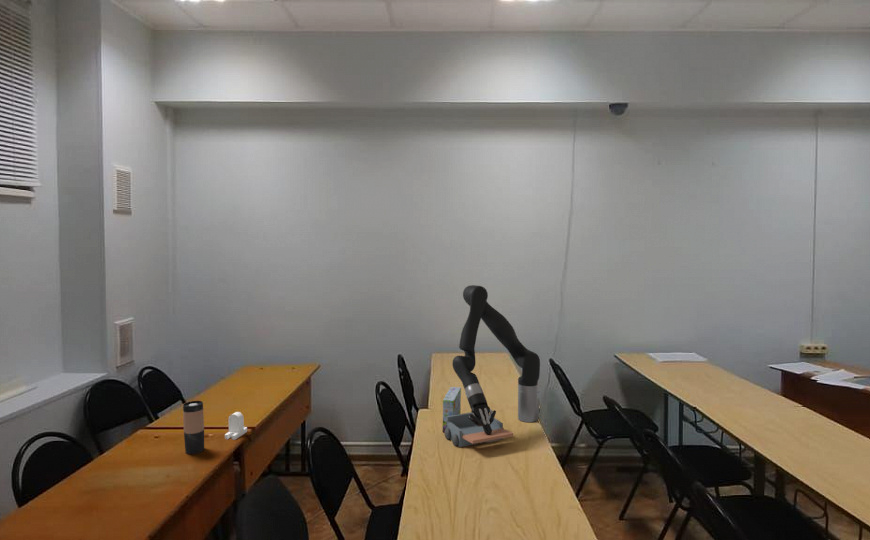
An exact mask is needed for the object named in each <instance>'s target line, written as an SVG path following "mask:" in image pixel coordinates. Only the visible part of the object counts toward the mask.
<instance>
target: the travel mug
mask: <svg viewBox="0 0 870 540" xmlns="http://www.w3.org/2000/svg"><path fill="white" fill-rule="evenodd" d="M182 415H183V417H182V418H183V437H184V438H183V439H184V450H185V453H186V454H187V455H196V454H200V453H202V452H203V451H204V450H205V419H204V418H205V417H204V402H203V401H202V400H191V401H187V402H184V403H183V405H182Z"/></svg>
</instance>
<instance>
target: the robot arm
mask: <svg viewBox="0 0 870 540" xmlns="http://www.w3.org/2000/svg"><path fill="white" fill-rule="evenodd" d="M462 291H463V292H462V297H463V300H464V302H465V303H466V305H468V306H469V313H468V316H467V319H466V320H465V323H464V324H463V327H462V330H461V333H460V338H459V339H460V340H459V344H458V345H459V346H458V347H459V349H460V350H461V351H464V355H457V356H456V355H455V356H454V358H453V359H452V369H453V371H454V372H455V374H456V375H457V377H458V379H459V380H460V381H461V383H462V386H463V390H464V392H465V396H466V399H467V402H468V405H469V408H470V412H471V413H472V414H470V416H469V417H468V418H469V419H470V420H471V421H472V422H474V423H475V424H476V425H477V426H482V427H483V429H484V432H485V434H487V435H490V434H491V433H492V429H491V426H490V425H491V423H492V422H493V420H494V418H495V417H496V413H497V410H496V409H495V410H492V409H491V408H490V406H489V405H488V404H489V403H488V401H487V398H486V396H485V393H484V390H483V388H482V387H481V384H480V382H479V379H478V376H477V375H476V374H475V373H474V372H473V371H474V369H475V367H476V350H475V348H476V341H477V335H478V330H479V326H480V323H481V320H482V322H483V323H484V324H485V326H486V327H487V328H488V329H489V331H490V332H491V333H492V334H493V336H494V337H495V338H496V340H497V341H499V342H500V343H501V345H503V347H504V348H505V349H506V350H507V351H508V352H509V355H511V357H512V359H513V360H514V362H515V363H516V365H517V366H518V367H519V368H521V375H520V376H519V377H518V378H517V419H518V420H519V421H521V422H524V423H534V422H537V421H538V420H540V399H538V393H539V392H538V389H539V388H538V385H539V384H538V383H539V379H540V375H541V374H540V371H541V369H540V368H541V360H540V357H539V355H538V354H537V353H536V352H534V351H531V350H529V349H528V348H527V347H525V346H524V345H523V343H522V342H521V341H520V340H519V338H518V336H517V333H516V331H515V329H514V327H513V325H512V324H511V323H510V322H509V320H508V319H507V318H506V317H505V316H504V315H503V314H502V313H500V312H499V311H498V310H497V309H495V308H494V307H493V306H491V304H490V303H489V302H488V301H487V300H488V290H487V289H486V288H485V287H484V286H482V285H474V284H473V285H471V284H470V285H468V286H466V287H464V289H463V290H462ZM489 415H490V416H491V417H490V420H489ZM476 417H477V418H476Z"/></svg>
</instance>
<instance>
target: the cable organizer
mask: <svg viewBox="0 0 870 540" xmlns="http://www.w3.org/2000/svg"><path fill="white" fill-rule="evenodd" d="M244 418H245V417H244V415H243V413H241V411H235V412H234V413H231V414H230V415H229V416H228V421H227V422H228V432H226V433H225V434H224V440H229V439H231V440H233V441H235V440H237V439H239V438H240V437H241V436H243V435H245V434H246V433H247V432H248V427H247V426H245V425H244V422H245V421H244V420H245V419H244Z"/></svg>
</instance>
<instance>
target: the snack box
mask: <svg viewBox="0 0 870 540" xmlns="http://www.w3.org/2000/svg"><path fill="white" fill-rule="evenodd" d="M461 396H462V387H460V386H459V387H456V386H450V387H449V389H448V391H447V393H446V394H445V396H444V398H443V399H442V433H444V431H445V429H446V416H452V415H458V414H461V407H462V406H461V401H462V400H461V399H462V398H461Z"/></svg>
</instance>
